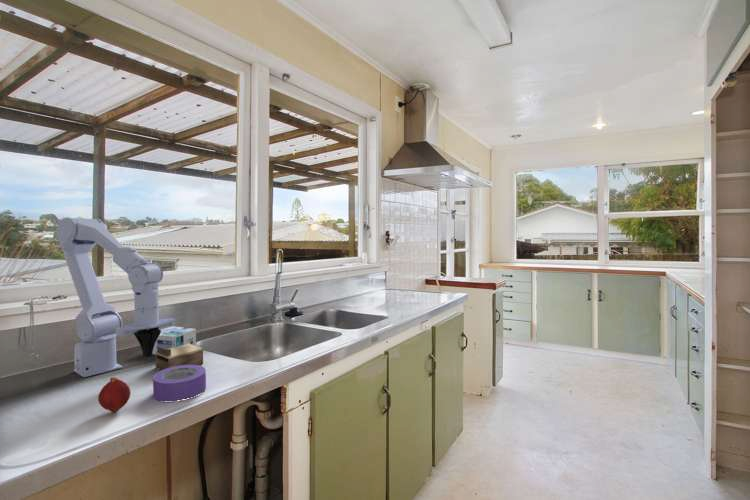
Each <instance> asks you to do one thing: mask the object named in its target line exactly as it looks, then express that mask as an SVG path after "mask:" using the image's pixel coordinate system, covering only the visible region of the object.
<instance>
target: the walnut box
mask: <svg viewBox="0 0 750 500" xmlns="http://www.w3.org/2000/svg"><path fill="white" fill-rule="evenodd" d="M203 364H204V350H203V351H199V352H196V353H192V354H188V355H184V356H180V357H177V358H173V359H167V358H165V357H162V356H160V355H158V354H156V355H155V368H156V369H158V370H160V371H162V370H164V369H167V368H171V367H175V366H180V365H199V366H202V365H203Z"/></svg>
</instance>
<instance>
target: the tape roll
mask: <svg viewBox="0 0 750 500" xmlns="http://www.w3.org/2000/svg"><path fill="white" fill-rule="evenodd" d="M206 373H207V370H206V368H205V367H204V366H202V365H180V366H175V367H171V368H167V369H164V370H160V371H158V372H156V373H155V374H154V375H153V377H152V390H153V391H152V392H153V393H152V394H153V399H154V400H155V401H157V402H159V401H163V402H162V403H165V402H164V401H177V400H182V399H187V398H191V397H194V396H196V395H198V394H200V393H202V392H203V393H205V391H206V390H207V378H206V377H207V374H206ZM205 389H206V390H205ZM203 393H202V394H203ZM194 398H195V397H194Z"/></svg>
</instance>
